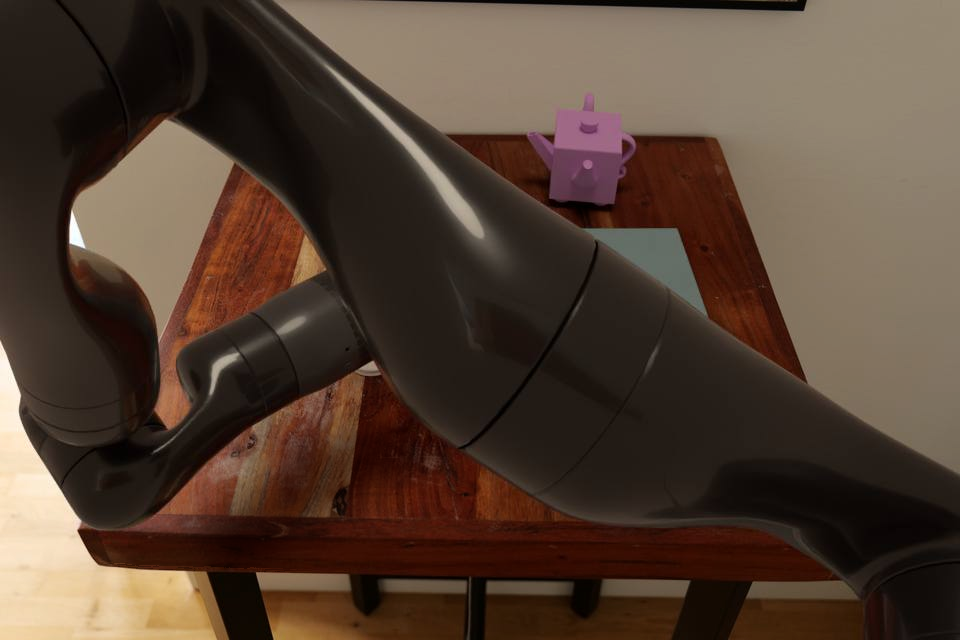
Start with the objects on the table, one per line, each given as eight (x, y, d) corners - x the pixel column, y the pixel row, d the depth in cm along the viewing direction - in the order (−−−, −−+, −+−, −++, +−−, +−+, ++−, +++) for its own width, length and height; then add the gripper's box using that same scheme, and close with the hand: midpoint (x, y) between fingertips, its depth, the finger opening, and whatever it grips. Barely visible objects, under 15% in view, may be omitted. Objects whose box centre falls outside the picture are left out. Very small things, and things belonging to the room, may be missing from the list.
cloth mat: (708, 321, 90) (709, 319, 90) (500, 323, 89) (500, 320, 89) (676, 230, 102) (677, 228, 102) (492, 231, 101) (492, 228, 101)
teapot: (528, 146, 115) (533, 79, 108) (626, 154, 114) (637, 87, 108) (518, 225, 102) (523, 154, 95) (629, 235, 101) (642, 164, 94)
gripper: (383, 343, 56) (561, 241, 64) (263, 241, 63) (437, 163, 72) (388, 419, 61) (553, 316, 69) (276, 317, 68) (437, 235, 77)
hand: (493, 238), depth 71 cm, fingers closed on pill bottle, 5 cm apart
